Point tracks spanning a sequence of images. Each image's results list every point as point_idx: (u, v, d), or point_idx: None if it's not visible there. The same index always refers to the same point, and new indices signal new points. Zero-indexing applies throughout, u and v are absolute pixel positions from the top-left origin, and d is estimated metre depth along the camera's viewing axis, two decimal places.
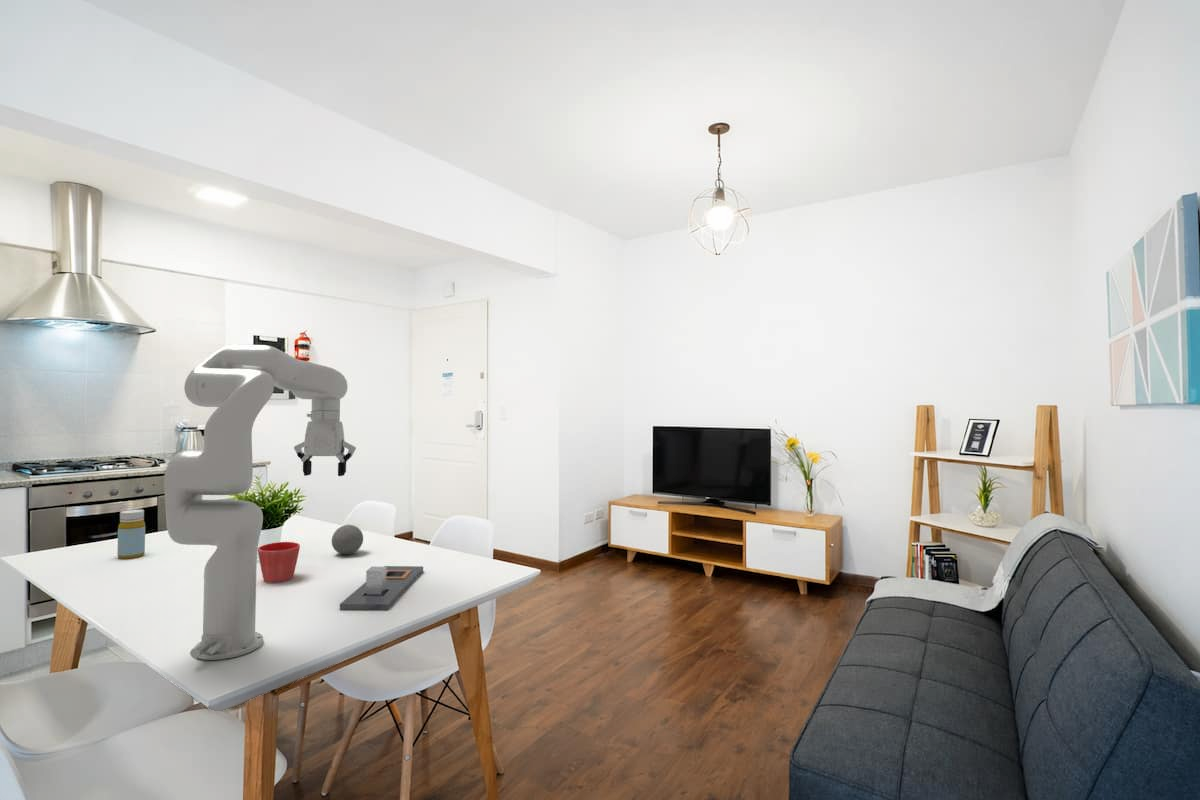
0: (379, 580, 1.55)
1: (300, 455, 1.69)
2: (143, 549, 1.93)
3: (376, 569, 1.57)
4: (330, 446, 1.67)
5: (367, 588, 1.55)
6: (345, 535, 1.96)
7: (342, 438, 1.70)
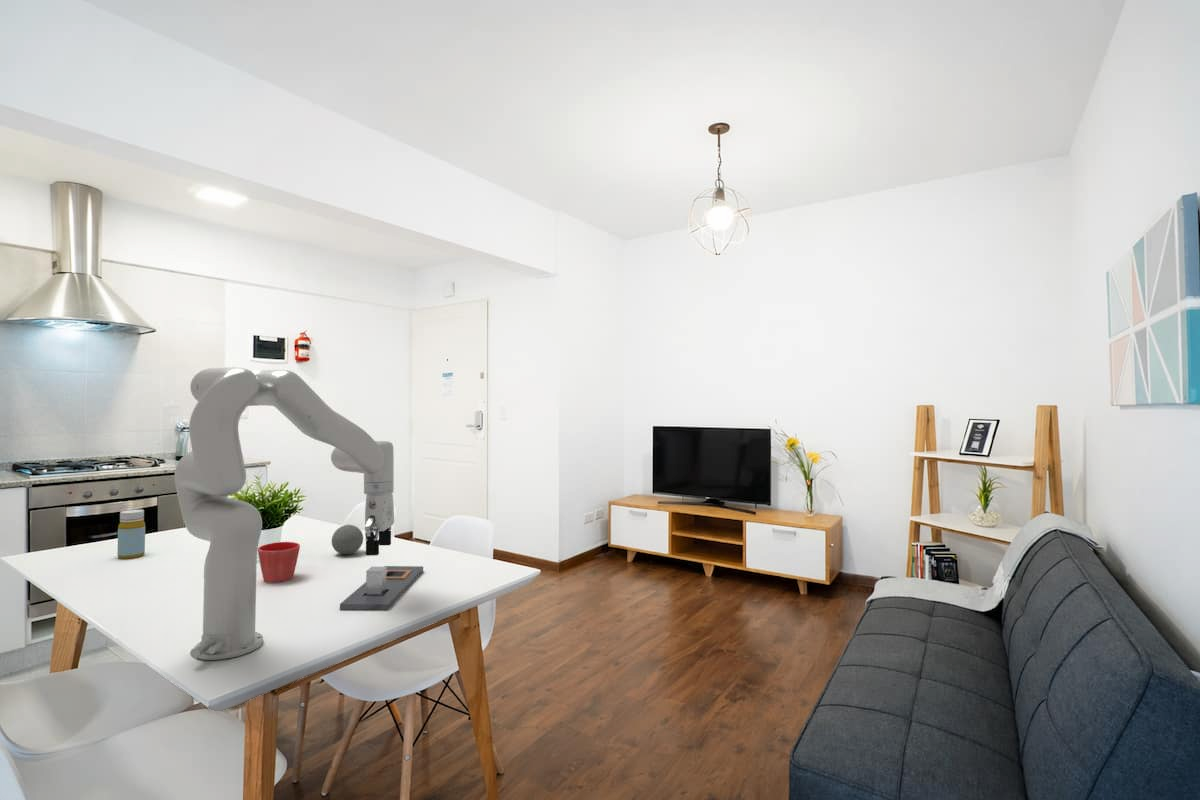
0: (379, 580, 1.55)
1: (373, 534, 1.51)
2: (143, 549, 1.93)
3: (376, 569, 1.57)
4: (392, 515, 1.60)
5: (367, 588, 1.55)
6: (345, 535, 1.96)
7: None
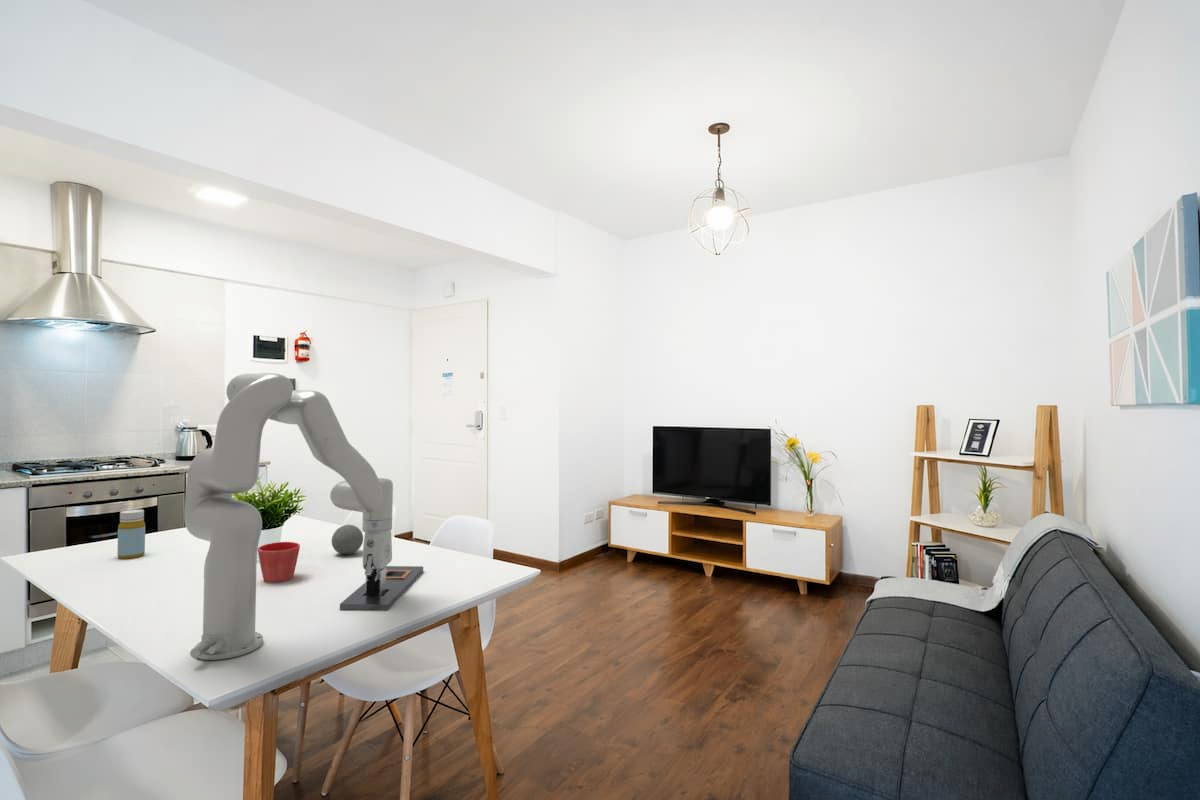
0: (379, 580, 1.55)
1: (374, 575, 1.53)
2: (143, 549, 1.93)
3: None
4: (390, 553, 1.60)
5: None
6: (345, 535, 1.96)
7: None
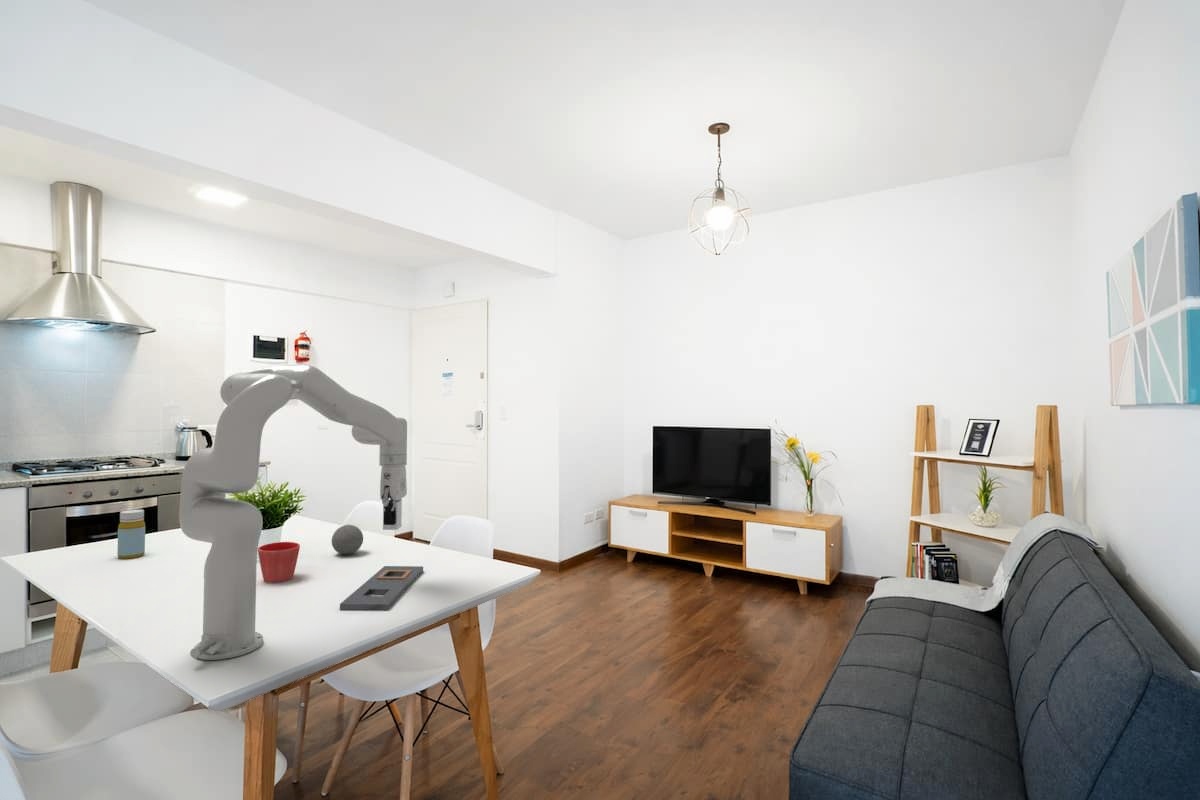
0: (395, 510, 1.67)
1: (390, 505, 1.65)
2: (143, 549, 1.93)
3: None
4: (405, 487, 1.72)
5: None
6: (345, 535, 1.96)
7: None
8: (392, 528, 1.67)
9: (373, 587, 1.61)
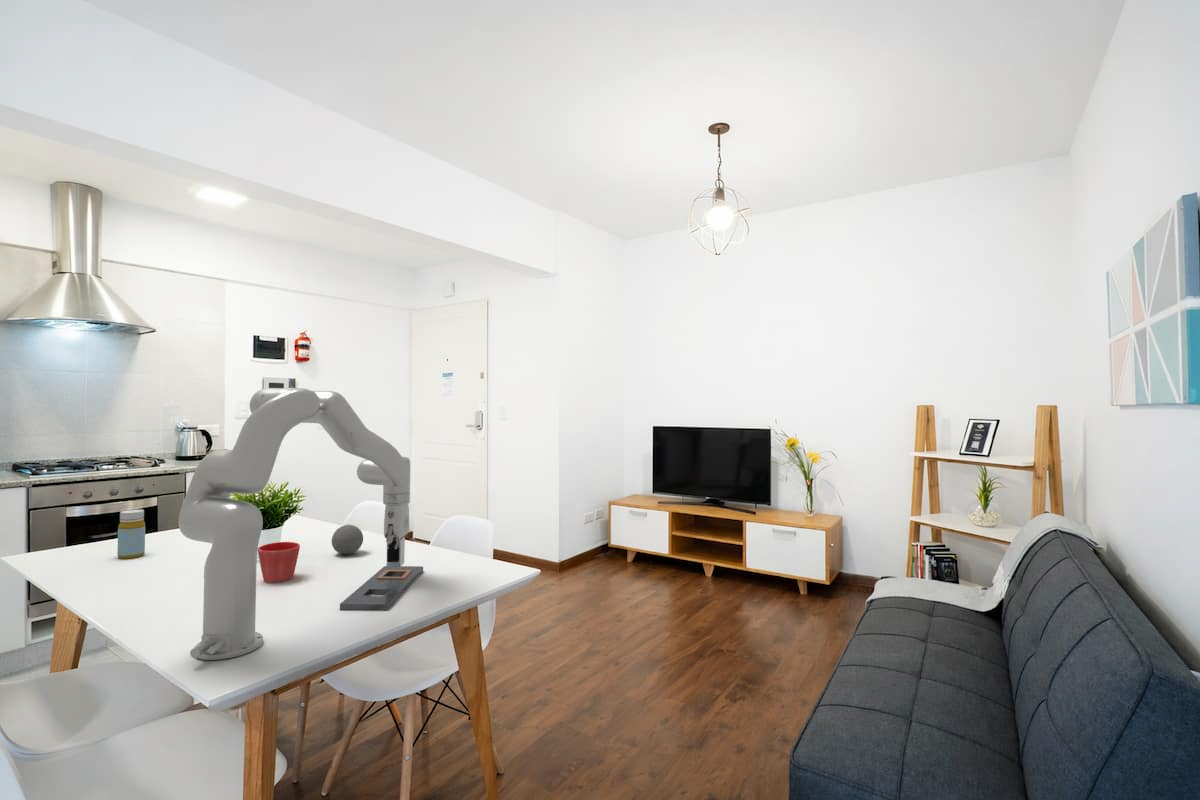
0: (399, 548, 1.71)
1: (394, 543, 1.69)
2: (143, 549, 1.93)
3: None
4: (408, 524, 1.76)
5: None
6: (345, 535, 1.96)
7: None
8: (395, 565, 1.71)
9: (373, 587, 1.61)
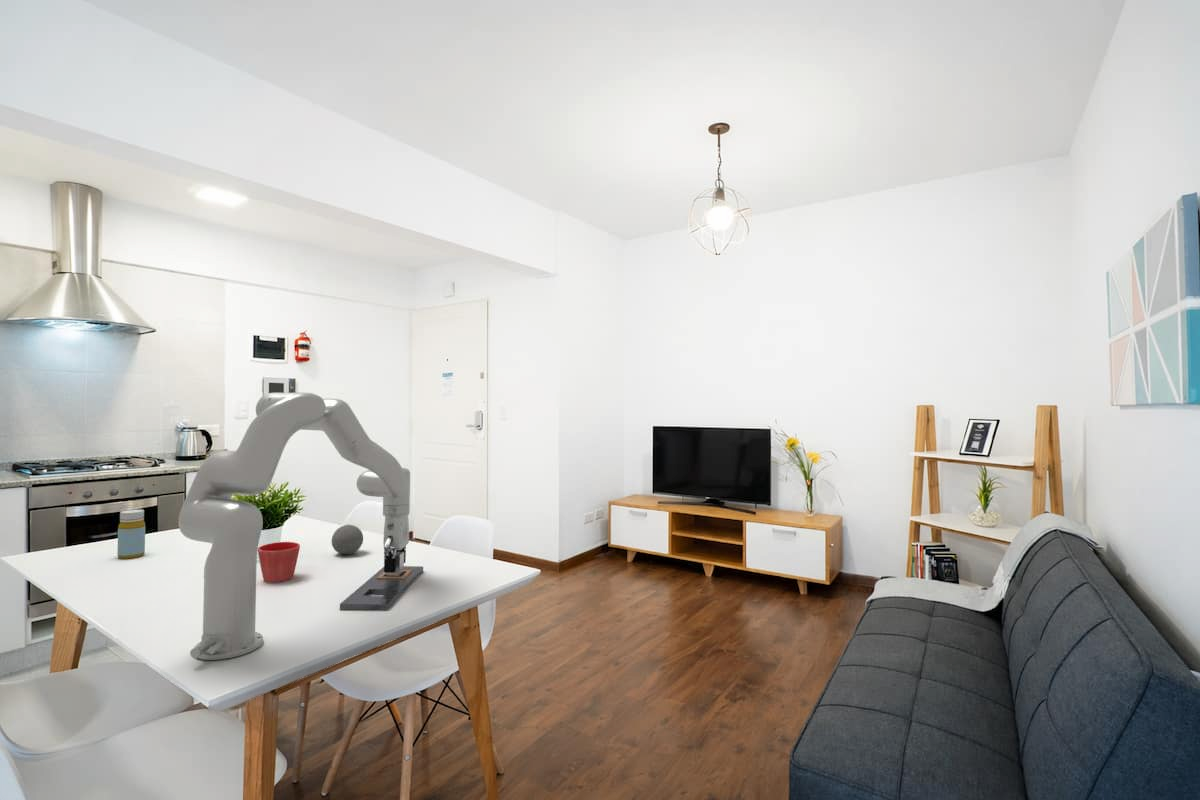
0: (398, 563, 1.71)
1: (391, 553, 1.67)
2: (143, 549, 1.93)
3: None
4: (407, 535, 1.76)
5: None
6: (345, 535, 1.96)
7: None
8: None
9: (373, 587, 1.61)
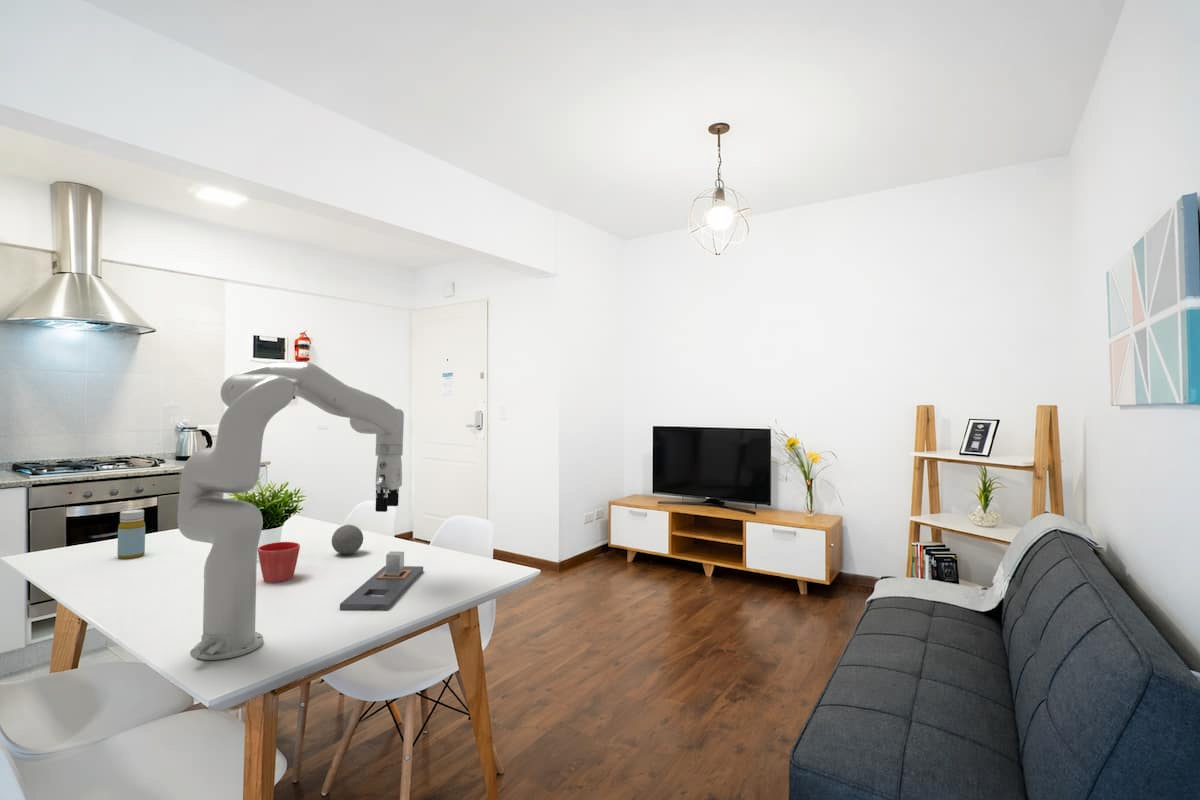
0: (398, 563, 1.71)
1: (383, 492, 1.64)
2: (143, 549, 1.93)
3: (395, 553, 1.73)
4: (400, 478, 1.74)
5: (386, 570, 1.71)
6: (345, 535, 1.96)
7: None
8: None
9: (373, 587, 1.61)
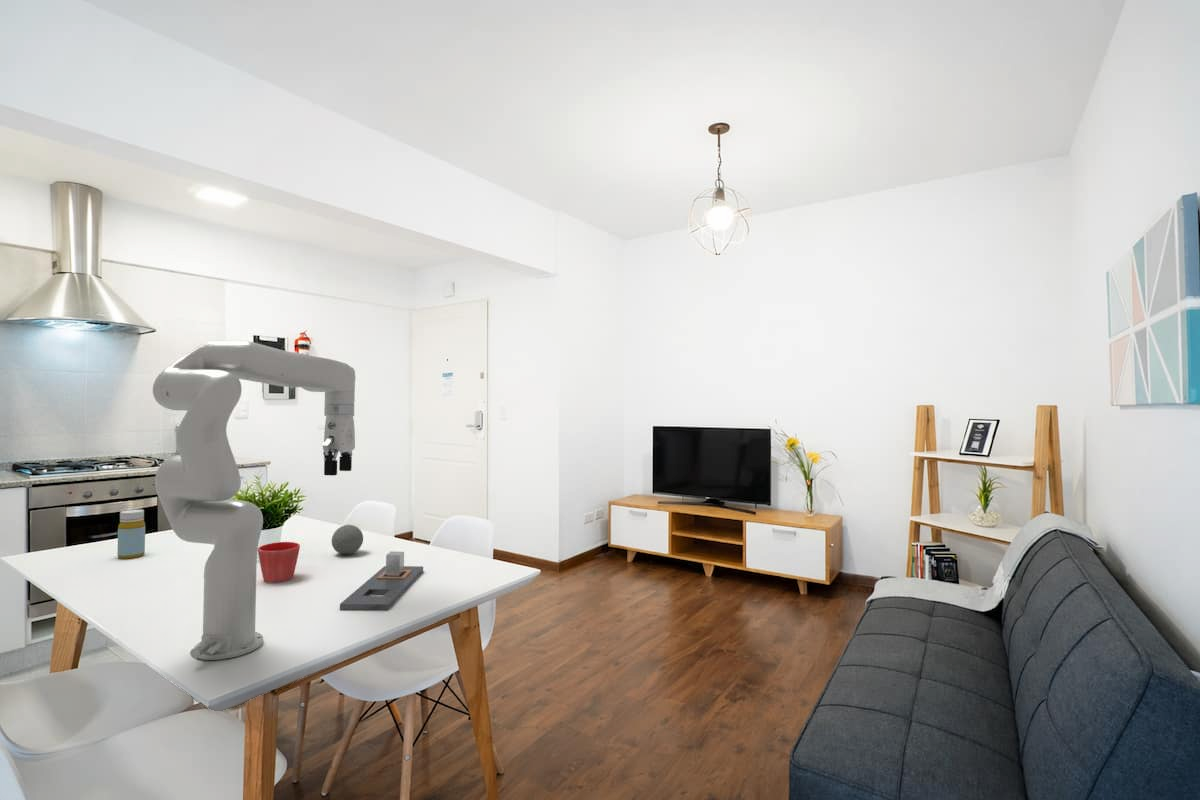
0: (398, 563, 1.71)
1: (331, 454, 1.53)
2: (143, 549, 1.93)
3: (395, 553, 1.73)
4: (352, 440, 1.63)
5: (386, 570, 1.71)
6: (345, 535, 1.96)
7: None
8: None
9: (373, 587, 1.61)
